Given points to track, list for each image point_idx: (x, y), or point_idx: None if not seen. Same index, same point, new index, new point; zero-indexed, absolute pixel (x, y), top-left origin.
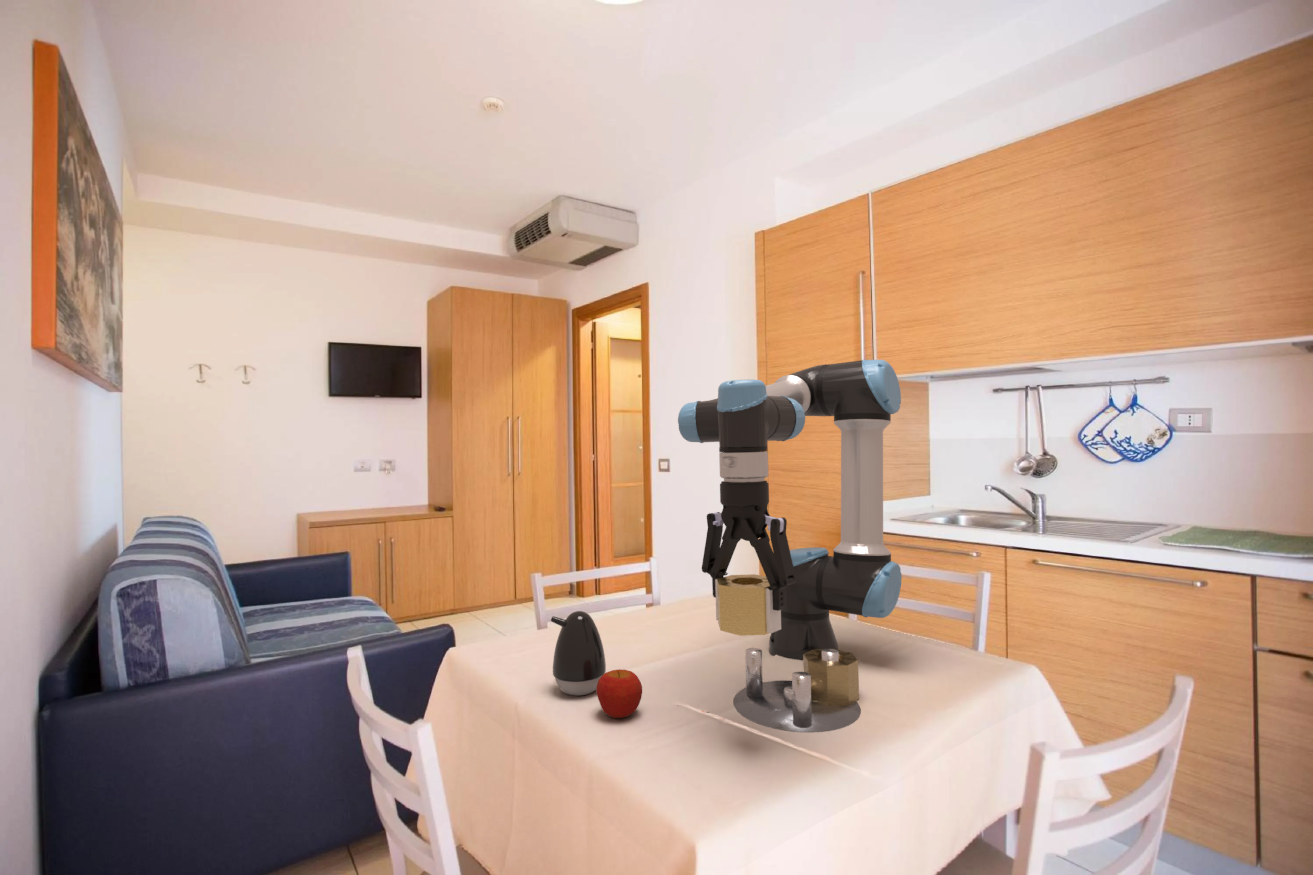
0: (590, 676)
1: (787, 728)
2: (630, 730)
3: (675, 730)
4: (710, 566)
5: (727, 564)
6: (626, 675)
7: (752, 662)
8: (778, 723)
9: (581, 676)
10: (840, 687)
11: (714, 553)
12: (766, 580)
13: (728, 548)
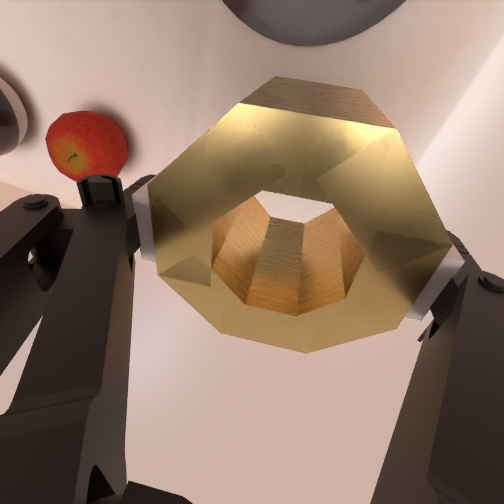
0: (14, 129)
1: (347, 26)
2: (156, 169)
3: (196, 136)
4: (61, 257)
5: (123, 252)
6: (80, 151)
7: None
8: (324, 14)
9: (12, 143)
10: None
11: (16, 299)
12: (371, 219)
13: (124, 398)
